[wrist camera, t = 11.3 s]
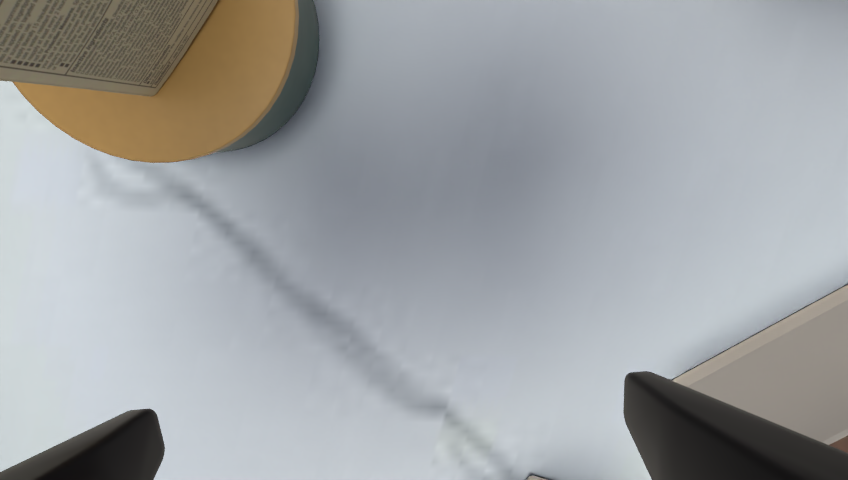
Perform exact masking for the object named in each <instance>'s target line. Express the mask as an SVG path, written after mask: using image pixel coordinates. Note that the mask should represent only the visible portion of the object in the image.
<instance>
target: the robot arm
mask: <svg viewBox="0 0 848 480" xmlns="http://www.w3.org/2000/svg"><path fill="white" fill-rule="evenodd" d="M624 418H625V422H626V425H627V427H628V429H629V431H630V434H631V436H632V438H633V440H634V442H635V444H636V446H637V448H638V451H639V453H640V455H641V457H642V459H643V461H644V463H645V466H646V468H647V470H648V472H649V474H650V476H651V478H652V480H848V453H847V452H844V451H842V450H839V449H837V448H835V447H832V446H830V445H827V444H825V443H822V442H820V441H817V440H815V439H813V438H810V437H808V436H805V435H803V434H800V433H798V432H796V431H793V430H791V429H788V428H786V427H783V426H781V425H779V424H776V423H774V422H771V421H769V420H766V419H764V418H761V417H759V416H757V415H754V414H752V413H749V412H747V411H744V410H742V409H740V408H737V407H735V406H732V405H730V404H727V403H725V402H722V401H720V400H718V399H715V398H713V397H710V396H708V395H705V394H703V393H701V392H698V391H696V390H693V389H691V388H688V387H686V386H684V385H681V384H679V383H676V382H674V381H671V380H669V379H666V378H664V377H662V376H659V375H657V374H654V373H652V372H647V371H645V372H632V373H628V374H627V375H626V377H625V383H624ZM164 451H165V447H164V441H163V437H162V433H161V429H160V425H159V421H158V417H157V414H156V413H155V411H153V410H151V409H140V410H130V411H127V412H125V413H123V414H121V415H119V416H117V417H115V418H113V419H110V420H108V421H106V422H104V423H102V424H100V425H98V426H96V427H94V428H92V429H90V430H87V431H85V432H83V433H81V434H79V435H77V436H75V437H73V438H71V439H69V440H67V441H65V442H62V443H60V444H58V445H56V446H54V447H52V448H50V449H48V450H46V451H44V452H42V453H39V454H37V455H35V456H33V457H31V458H29V459H27V460H25V461H23V462H21V463H19V464H17V465H14V466H12V467H10V468H8V469H6V470H4V471H2V472H0V480H153V479H154V477H155V475H156V473H157V471H158V468H159V466H160V464H161V462H162V460H163V456H164Z"/></svg>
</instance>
